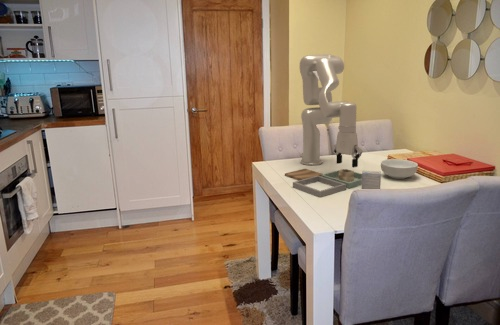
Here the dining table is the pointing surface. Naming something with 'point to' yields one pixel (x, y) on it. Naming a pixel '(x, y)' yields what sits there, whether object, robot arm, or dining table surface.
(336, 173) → the green tray
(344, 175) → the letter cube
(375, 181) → the medicine box
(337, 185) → the grey rectangular frame
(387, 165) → the cereal bowl
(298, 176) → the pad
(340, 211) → the dining table surface
